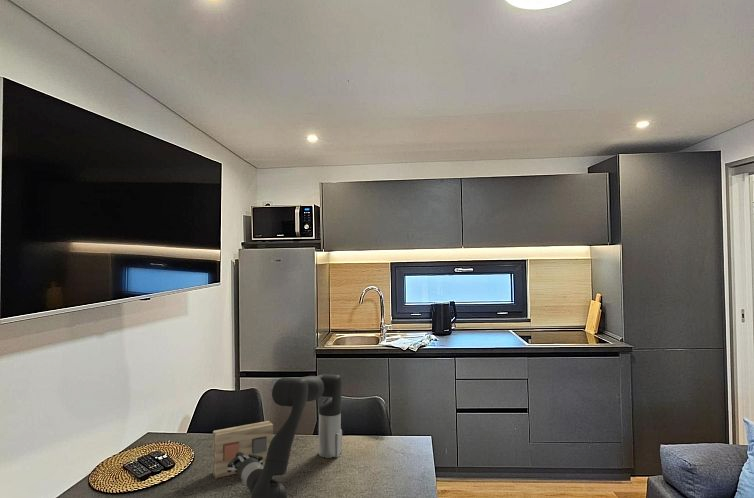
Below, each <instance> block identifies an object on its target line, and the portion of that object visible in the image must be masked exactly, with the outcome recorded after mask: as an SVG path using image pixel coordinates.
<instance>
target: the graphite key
mask: <svg viewBox="0 0 754 498" xmlns="http://www.w3.org/2000/svg"><path fill="white" fill-rule="evenodd" d="M265 451H267V438H266V437H265V436H264V437H259V438H254V439H252V452H253V453H254V454H256V453H261V452H265Z"/></svg>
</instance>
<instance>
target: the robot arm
mask: <svg viewBox="0 0 754 498" xmlns="http://www.w3.org/2000/svg"><path fill="white" fill-rule="evenodd" d="M342 393H343V379H342V376H341V375H339V374H327V373H322V374H318V375H317V376H316V375H308V376H301V377H298V378H297V377H296V378H295V377H281V378H279V379H277V380H276V382H275V383H274V385H273V387H272V389H271V397H272V401H273V402H274V403H275V404H276V405H278V406H281V407H290V408H291V410H290V413H289V416H288V417H287V419H286V420H285V422H284V423H283V425H281V427H280V428H279V430H278V431H277V432H276V433H275V434H274V435H273V439H272V441H271V442H270V445H269V448H268V452H267V456H266V461H265V465H264V467H263V466H262V464H263V457H262V456H257V455H251V454H249V455H248V456H246V455H244V453H241V452H238V453H237V454H236V455H235V458H233V459H232V460H231V461H230V462H229V463H228V464H227V472H231V471H233V470H234V471H235V472H236V474H237V475H238V478H240V480H241V482H242V484H243V485H244V486H245V488H247V489H248V490H249V492H250V494H251V495H250V498H288V492H287V489H286V487H285V486H284V485H283V484H282V483H281V482H280V481H278V480H277V479H274V478H273V477H274V476H275V477H276V476H277V477H278V476H279V477H280V476H283V475H285V474H286V473H287V469H288V466H289V460H290V456H291V450H292V447H293V442H294V438H295V435H296V434H297V431H298V430H297V429H298V427H299V425H300V421H301V420H302V416H303V414H304V410H305V407H306V404H307V402H312V401H316V400H319V399H320V398H321V397H324V398H331V401H329V402H325V403H322V404H321V405H320V406H319V407H318V456H319V457H321V458H324V457H325V458H324V459H333V458H332V457H334V458H338V457H340V455H341V454H342V452H343V430H342V426H341V424H342V423H341V422H342V420H341V419H342V418H341V416H342V413H341V412H342ZM340 453H341V454H340Z"/></svg>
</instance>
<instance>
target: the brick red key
mask: <svg viewBox="0 0 754 498" xmlns="http://www.w3.org/2000/svg"><path fill="white" fill-rule="evenodd" d="M238 450H239V444H238V443H237V442H234V443H229V444H224V445H223V458H224V460H229V459H233V458H235V455H236V454H237V453H238Z"/></svg>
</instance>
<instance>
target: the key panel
mask: <svg viewBox="0 0 754 498" xmlns="http://www.w3.org/2000/svg"><path fill="white" fill-rule="evenodd" d="M264 436H265V437H266V438H267V451H265V452H261V453H256V454H254V453H253V452H252V439H254V438H259V437H264ZM273 437H274V424H273V423H272V422H271V421H270V420H266V421H260V422H254V423H250V424H249V423H248V424H243V425H239V426H233V427H227V428H223V429H222V428H220V429H216V430H213V431H212V475H213V476H214V478H215V479H218V478H223V477H227V476H232V475H235V474H237V473H236V472H235V471H234V470H233V471H231V472H227V464H228V463H229V462H230V461H231V460H232V459H229V460H224V458H223V445H224V444H229V443H234V442H237V443H238V444H239V450H238V452H241V453H244V455H246V456H248V455H249V454H251V455H257V456H262V457H263V464H262V466H263V467H264V465H265V461H266V456H267V452H268V448H269V445H270V442H271V441H272V439H273Z"/></svg>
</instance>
